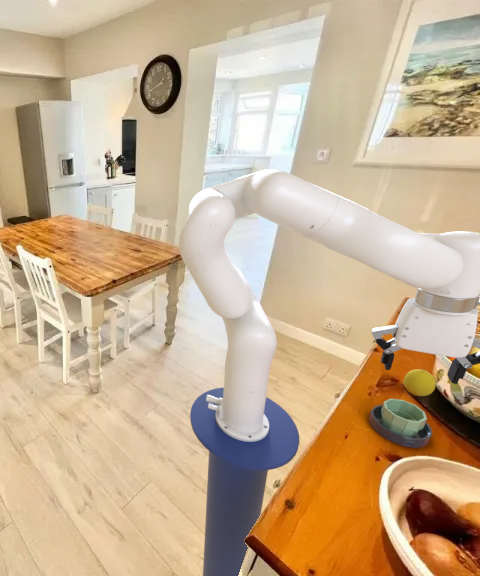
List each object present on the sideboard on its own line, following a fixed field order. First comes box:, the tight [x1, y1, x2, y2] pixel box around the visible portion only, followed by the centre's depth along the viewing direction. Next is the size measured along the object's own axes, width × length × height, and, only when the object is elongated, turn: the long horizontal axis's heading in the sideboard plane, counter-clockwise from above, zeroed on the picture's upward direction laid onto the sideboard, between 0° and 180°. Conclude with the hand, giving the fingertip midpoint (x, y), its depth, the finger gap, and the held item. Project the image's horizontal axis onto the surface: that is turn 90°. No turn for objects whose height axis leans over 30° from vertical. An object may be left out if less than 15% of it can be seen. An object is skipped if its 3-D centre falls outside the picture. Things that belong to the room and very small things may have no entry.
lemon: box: [402, 368, 437, 397], centre depth 77 cm, size 6×6×8 cm
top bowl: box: [381, 398, 428, 438], centre depth 70 cm, size 7×7×6 cm
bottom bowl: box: [368, 404, 433, 449], centre depth 70 cm, size 10×10×2 cm
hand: (417, 372), depth 63 cm, fingers open, 9 cm apart
